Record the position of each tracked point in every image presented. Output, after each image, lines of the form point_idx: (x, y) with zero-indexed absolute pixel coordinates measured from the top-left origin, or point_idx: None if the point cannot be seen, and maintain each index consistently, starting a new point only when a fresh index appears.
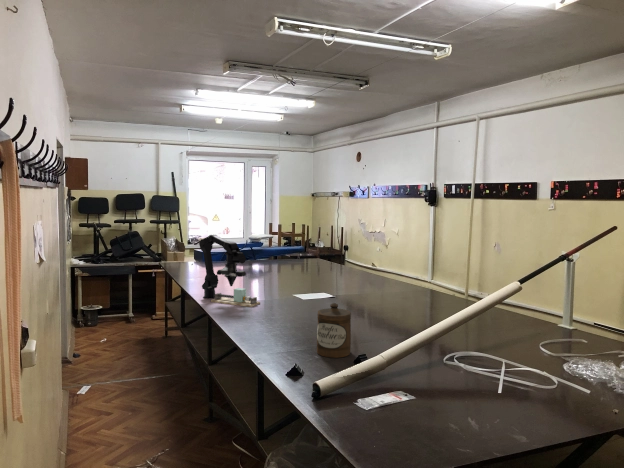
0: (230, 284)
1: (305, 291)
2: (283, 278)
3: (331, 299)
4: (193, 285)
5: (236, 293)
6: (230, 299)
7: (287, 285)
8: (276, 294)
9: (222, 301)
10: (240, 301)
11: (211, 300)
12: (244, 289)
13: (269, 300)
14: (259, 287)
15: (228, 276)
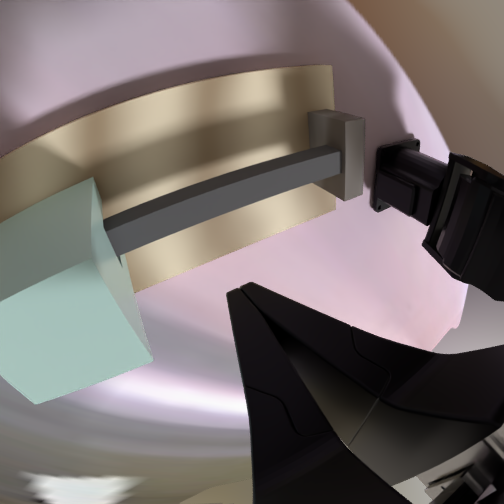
0: (260, 306)
1: (152, 492)
2: None
3: (13, 494)
4: None
5: (41, 243)
6: None
7: None
8: (171, 453)
9: (198, 82)
10: (9, 220)
11: (325, 65)
12: (8, 379)
13: (59, 415)
14: None
15: (456, 435)
